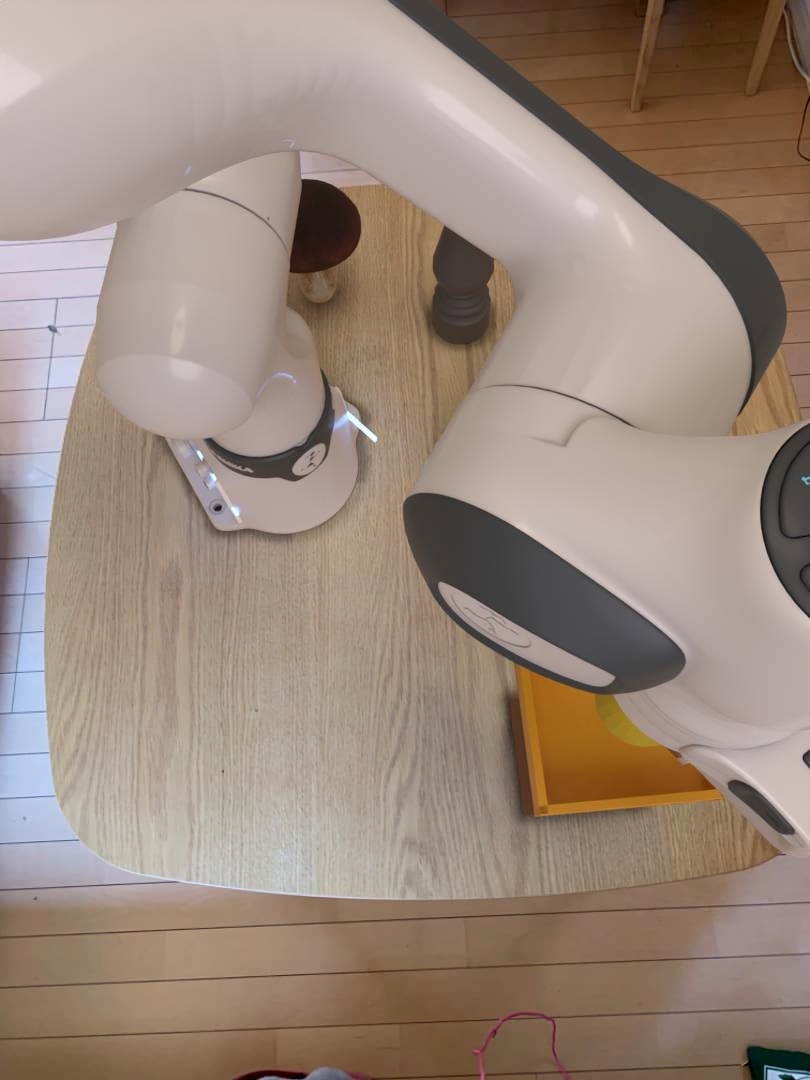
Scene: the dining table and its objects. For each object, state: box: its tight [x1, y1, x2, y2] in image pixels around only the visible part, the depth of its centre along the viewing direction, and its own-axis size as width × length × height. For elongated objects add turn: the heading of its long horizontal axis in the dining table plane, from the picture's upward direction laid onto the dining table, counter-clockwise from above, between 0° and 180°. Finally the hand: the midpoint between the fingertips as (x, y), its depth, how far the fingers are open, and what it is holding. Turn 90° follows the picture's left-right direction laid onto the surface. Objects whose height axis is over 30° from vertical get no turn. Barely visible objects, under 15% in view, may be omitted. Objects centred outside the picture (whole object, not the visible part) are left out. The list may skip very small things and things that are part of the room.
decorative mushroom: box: [289, 178, 362, 304], centre depth 87 cm, size 11×11×15 cm
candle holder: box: [431, 225, 495, 345], centre depth 80 cm, size 6×6×25 cm
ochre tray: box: [508, 662, 726, 818], centre depth 66 cm, size 12×11×21 cm
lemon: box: [595, 694, 660, 747], centre depth 50 cm, size 6×6×8 cm
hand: (639, 702), depth 51 cm, fingers closed on lemon, 5 cm apart
